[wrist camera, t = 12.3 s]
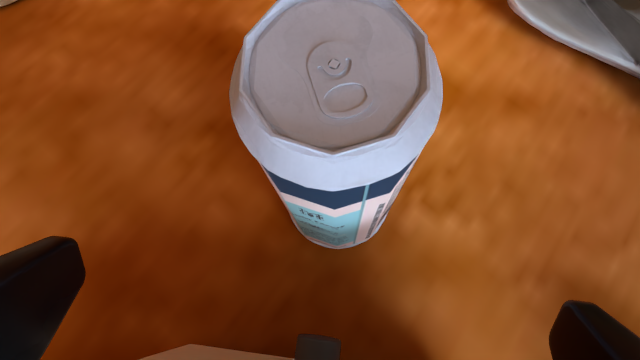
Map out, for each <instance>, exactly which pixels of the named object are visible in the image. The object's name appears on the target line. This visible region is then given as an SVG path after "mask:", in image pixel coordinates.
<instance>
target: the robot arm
mask: <svg viewBox="0 0 640 360" xmlns="http://www.w3.org/2000/svg"><path fill="white" fill-rule="evenodd" d="M84 280H85V267H84V264H83V260H82V257H81V253H80V250H79V247H78V244H77V242H76V241H75V240H74V239H72V238H69V237H61V236H50V237H47V238H44V239H42V240H39V241H37V242H34V243H32V244H29V245H27V246H24V247H22V248H19V249H17V250H14V251H12V252H9V253H7V254H4V255H2V256H0V360H40V358H41V357H42V355H43V353H44V352H45V350H46V348H47V347H48V345H49V343H50V342H51V340H52V338H53V336H54V335H55V333H56V331H57V329H58V327H59V326H60V324H61V322H62V320H63V319H64V317H65V315H66V313H67V311H68V310H69V308H70V306H71V304H72V303H73V301H74V299H75V297H76V296H77V294H78V292H79V290H80V288H81V287H82V285H83V283H84ZM549 346H550V350H551V355H552V359H553V360H640V338H639V337H638V336H637V335H635V334H634V333H633V332H632V331H630V330H629V329H628V328H626V327H625V326H624V325H622V324H621V323H620V322H618V321H617V320H616V319H614V318H613V317H612V316H610V315H609V314H608V313H606V312H605V311H604V310H603V309H601V308H600V307H599V306H597V305H596V304H594V303H591V302H585V301H577V300H568V301H566V302H565V303H564V304H563V305H562V307H561V309H560V312H559V314H558V316H557V318H556V320H555V322H554V324H553V326H552V329H551V331H550V335H549Z"/></svg>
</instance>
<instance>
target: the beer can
mask: <svg viewBox="0 0 640 360" xmlns="http://www.w3.org/2000/svg"><path fill="white" fill-rule="evenodd" d="M229 98H230V106H231V114H232V118H233V121H234V124H235V126H236V129H237V131H238V134H239V137H240V138H241V140H242V141H243V143H244V144H245V146H246V147H247V148H248V150H249V151H250V153H251V154H252V155H253V156H254V157H255V158H256V159H257V160H258V162H259V164H260V165H261V167H262V169H263V170H264V172H265V174H266V175H267V177H268V179H269V180H270V182H271V184H272V185H273V187H274V189H275V190H276V192H277V193H278V195H279V197H280V198H281V200H282V202H283V203H284V205H285V207H286V208H287V210H288V212H289V214H290V217H291V219H292V221H293V223H294V224H295V226H296V227H297V229H298V230H299V231H300V232H301V233H302V234H303V235H304V236H305V237H306V238H307V239H308V240H310V241H312V242H313V243H316V244H318V245H321V246H323V247H327V248H334V249H343V248H348V247H353V246H356V245H358V244H360V243H363V242H365V241H367V240H368V239H370V238H371V237H372V236H373V235H374V234H375V233H376V232H377V231H378V229H379V228H380V226H381V225H382V223H383V222H384V220H385V218H386V215H387V213H388V211H389V210H390V208H391V206H392V204H393V202H394V200H395V199H396V197H397V195H398V193H399V191H400V189H401V188H402V186H403V184H404V182H405V180H406V178H407V177H408V175H409V173H410V171H411V169H412V167H413V166H414V164H415V162H416V160H417V158H418V156H419V155H420V153H421V151H422V149H423V147H424V146H425V144H426V143H427V141H428V140H429V138H430V137H431V135H432V134H433V132H434V130H435V128H436V125H437V123H438V120H439V116H440V112H441V108H442V101H443V84H442V77H441V74H440V70H439V67H438V63H437V59H436V56H435V54H434V52H433V50H432V48H431V47H430V45H429V43H428V38H427V35H426V34H425V32H424V31H423V30H422V29H421V28H420V27H419V26H418V25H417V24H416V23H415V22H414V20H413V19H412V18H411V17H410V16H409V15H408V14H407V13H406V12H405V11H404V9H403V8H402V7H401V6H400V5H399V4H398V3H397V2H396V1H395V0H277V1H276V3H275V4H274V5H273V6H272V7H271V8H270V9H269V10H268V11H267V12H266V13H265V15H264V16H263V17H262V18H261V19H260V20H259V21H258V22H257V23H256V24H255V26H254V27H253V28H252V29H251V30H250V31H249V32H248V33H247V34H246V35H245V36H244V41H243V46H242V48H241V50H240V52H239V54H238V56H237V59H236V62H235V65H234V69H233V73H232V77H231V83H230V89H229Z"/></svg>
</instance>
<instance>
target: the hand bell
mask: <svg viewBox="0 0 640 360" xmlns="http://www.w3.org/2000/svg"><path fill="white" fill-rule="evenodd" d="M15 1H17V0H0V7H2V6H4V5H8V4H11V3H13V2H15Z"/></svg>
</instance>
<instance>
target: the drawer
mask: <svg viewBox="0 0 640 360" xmlns="http://www.w3.org/2000/svg"><path fill="white" fill-rule="evenodd" d="M340 350H341V340H339V339H337V338H333V337H328V336H322V335H313V334H299V335H298V337H297V344H296V352H295V359H293V358H286V357H279V356H272V355H265V354H258V353H251V352H244V351H237V350H231V349H224V348H217V347H210V346H203V345H196V344H188V345H185V346H181V347H178V348H175V349H171V350H168V351H165V352H161V353H158V354H155V355H151V356H148V357H145V358H141V359H138V360H340Z"/></svg>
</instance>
